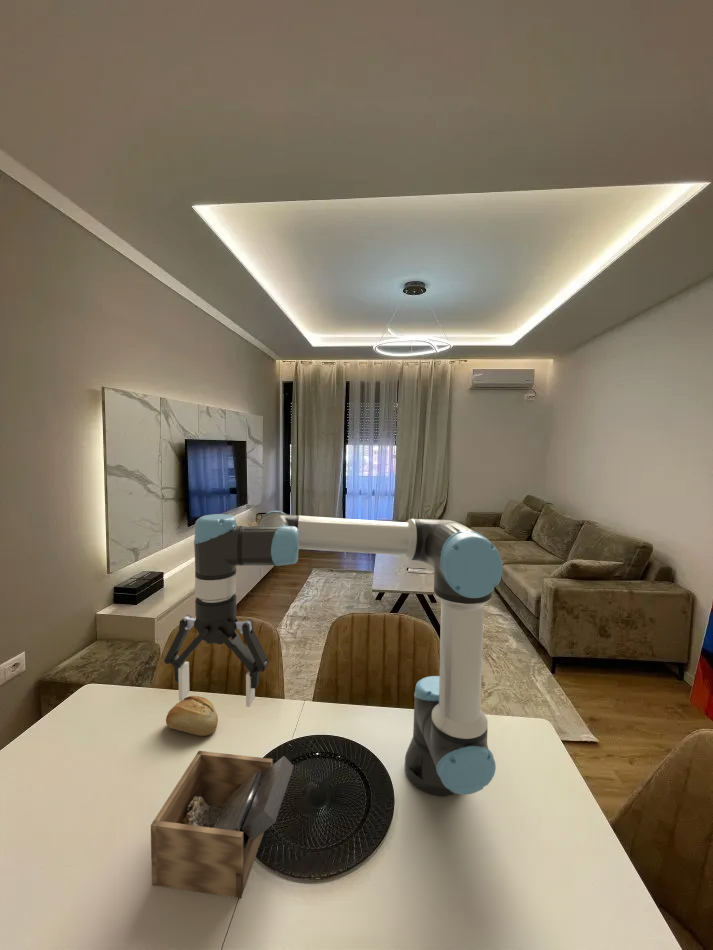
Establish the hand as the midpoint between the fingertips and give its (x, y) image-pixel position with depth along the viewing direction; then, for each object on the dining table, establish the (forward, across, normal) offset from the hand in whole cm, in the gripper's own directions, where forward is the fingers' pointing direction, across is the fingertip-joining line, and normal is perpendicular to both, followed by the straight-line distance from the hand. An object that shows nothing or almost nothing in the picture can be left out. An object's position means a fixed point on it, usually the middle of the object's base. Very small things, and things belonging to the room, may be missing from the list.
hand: (217, 699), depth 82 cm
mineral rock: (+27, +3, +1) cm, 27 cm away
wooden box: (+30, 0, +1) cm, 31 cm away
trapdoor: (+24, -8, +1) cm, 25 cm away
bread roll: (+31, +21, -30) cm, 48 cm away
